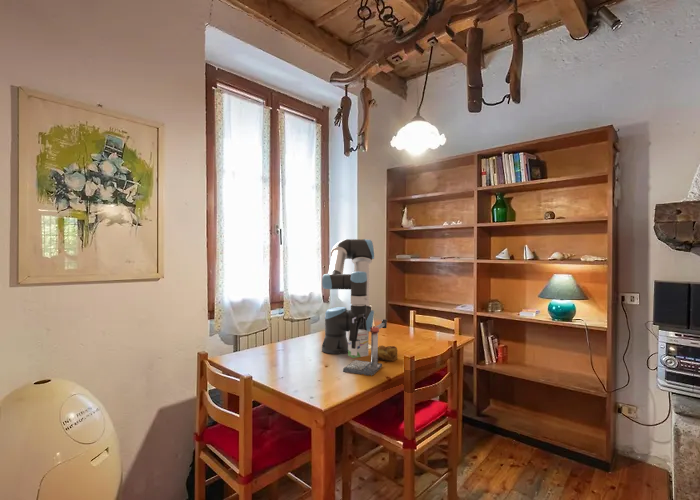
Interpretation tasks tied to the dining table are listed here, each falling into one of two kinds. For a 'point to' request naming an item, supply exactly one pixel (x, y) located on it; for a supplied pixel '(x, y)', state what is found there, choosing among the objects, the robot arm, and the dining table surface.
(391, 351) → the bread roll
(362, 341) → the ink box
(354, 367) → the stand
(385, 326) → the lever
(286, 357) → the dining table surface
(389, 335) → the dining table surface
